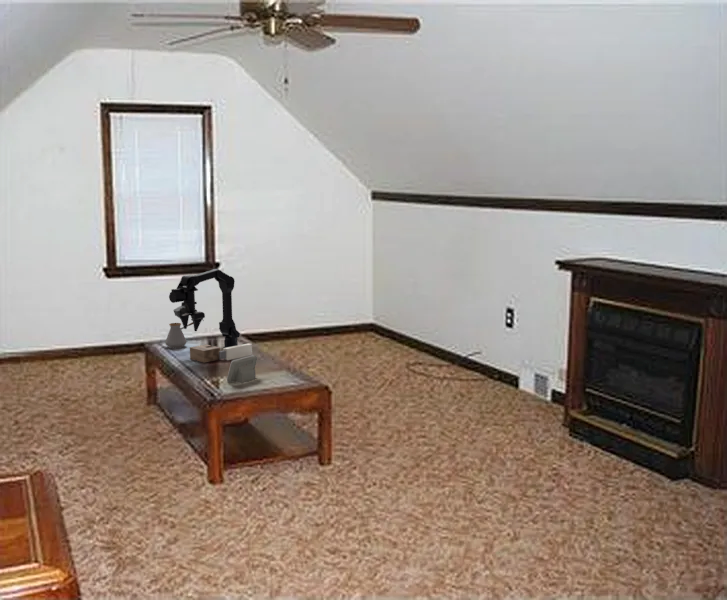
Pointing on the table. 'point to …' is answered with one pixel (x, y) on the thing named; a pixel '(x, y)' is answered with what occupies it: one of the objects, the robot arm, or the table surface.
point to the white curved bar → (236, 352)
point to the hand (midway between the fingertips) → (190, 330)
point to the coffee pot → (176, 336)
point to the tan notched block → (204, 353)
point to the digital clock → (242, 369)
